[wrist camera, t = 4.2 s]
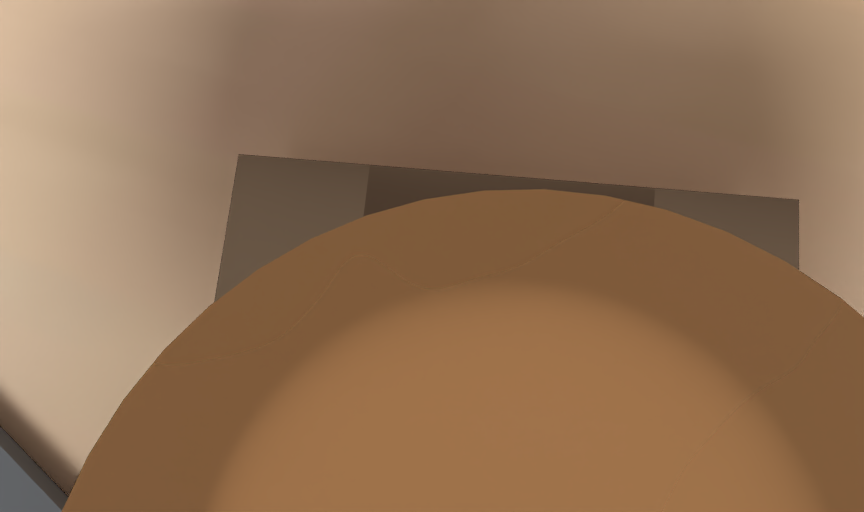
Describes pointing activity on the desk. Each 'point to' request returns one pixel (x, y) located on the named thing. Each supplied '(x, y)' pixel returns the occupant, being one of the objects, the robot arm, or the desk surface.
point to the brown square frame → (395, 186)
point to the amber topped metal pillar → (501, 374)
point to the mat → (25, 482)
